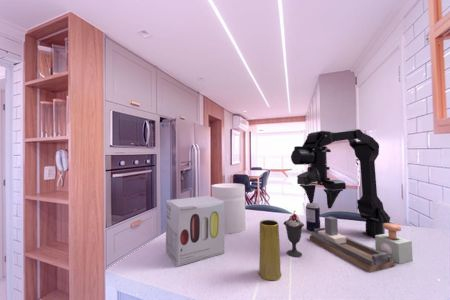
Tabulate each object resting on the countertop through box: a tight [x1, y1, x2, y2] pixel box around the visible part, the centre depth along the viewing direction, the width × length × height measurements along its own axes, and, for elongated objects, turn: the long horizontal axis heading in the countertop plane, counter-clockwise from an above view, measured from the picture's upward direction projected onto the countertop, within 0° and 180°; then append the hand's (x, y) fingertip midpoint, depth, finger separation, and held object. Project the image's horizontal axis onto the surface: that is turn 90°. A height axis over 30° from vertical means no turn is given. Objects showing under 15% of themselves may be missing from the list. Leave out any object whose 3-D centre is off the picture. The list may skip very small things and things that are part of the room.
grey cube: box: [374, 232, 414, 265], centre depth 64 cm, size 6×7×6 cm
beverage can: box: [305, 202, 321, 233], centre depth 88 cm, size 6×6×12 cm
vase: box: [258, 219, 282, 281], centre depth 56 cm, size 6×6×14 cm
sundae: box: [283, 210, 305, 258], centre depth 67 cm, size 7×7×15 cm
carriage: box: [318, 216, 347, 244], centre depth 75 cm, size 5×8×8 cm, turn 17°
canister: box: [211, 182, 246, 235], centre depth 94 cm, size 16×16×20 cm
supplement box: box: [165, 195, 225, 268], centre depth 70 cm, size 17×13×18 cm
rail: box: [309, 227, 395, 273], centre depth 69 cm, size 10×24×4 cm, turn 17°
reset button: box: [383, 222, 402, 241], centre depth 65 cm, size 4×4×5 cm
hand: (319, 205), depth 75 cm, fingers open, 9 cm apart
